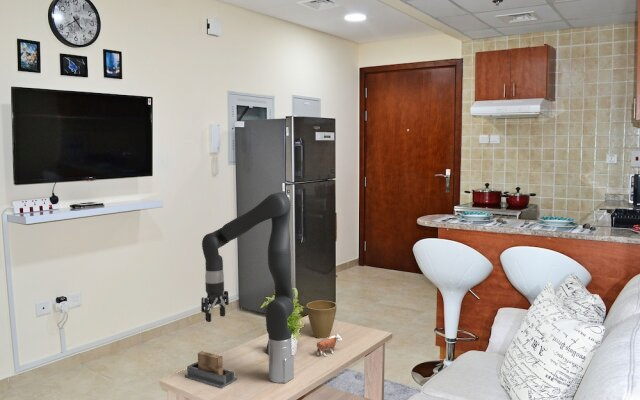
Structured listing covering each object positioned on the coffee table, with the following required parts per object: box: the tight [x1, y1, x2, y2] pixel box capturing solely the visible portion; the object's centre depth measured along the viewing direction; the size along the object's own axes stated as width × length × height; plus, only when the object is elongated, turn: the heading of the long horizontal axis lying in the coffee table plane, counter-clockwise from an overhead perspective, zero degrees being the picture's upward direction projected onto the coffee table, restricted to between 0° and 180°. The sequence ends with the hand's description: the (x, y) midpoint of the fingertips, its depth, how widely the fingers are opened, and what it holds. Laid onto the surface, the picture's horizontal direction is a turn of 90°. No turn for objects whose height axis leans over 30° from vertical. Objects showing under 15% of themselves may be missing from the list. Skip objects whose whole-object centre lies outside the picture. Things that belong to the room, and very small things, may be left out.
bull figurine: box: [316, 333, 343, 357], centre depth 251 cm, size 4×13×8 cm, turn 125°
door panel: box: [197, 350, 224, 375], centre depth 225 cm, size 11×2×9 cm, turn 59°
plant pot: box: [306, 300, 338, 339], centre depth 274 cm, size 15×15×16 cm
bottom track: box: [184, 361, 238, 389], centre depth 225 cm, size 20×9×4 cm, turn 58°
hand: (215, 318), depth 230 cm, fingers open, 8 cm apart
